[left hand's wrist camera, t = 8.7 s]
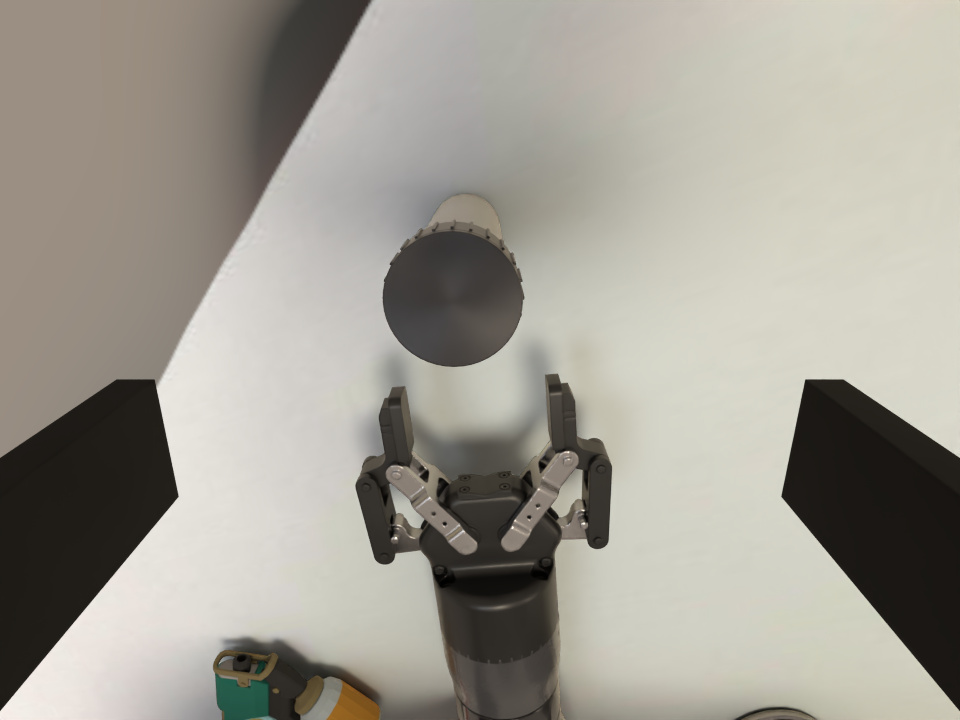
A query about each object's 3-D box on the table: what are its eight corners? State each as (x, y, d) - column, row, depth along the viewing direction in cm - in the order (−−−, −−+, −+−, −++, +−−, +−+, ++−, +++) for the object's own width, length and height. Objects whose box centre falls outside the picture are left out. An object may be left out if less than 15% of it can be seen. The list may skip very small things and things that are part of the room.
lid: (365, 297, 23) (352, 314, 21) (441, 191, 21) (436, 197, 19) (468, 370, 24) (467, 394, 22) (547, 273, 22) (554, 288, 20)
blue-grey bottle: (418, 235, 36) (371, 309, 21) (459, 179, 35) (440, 214, 20) (472, 275, 37) (465, 375, 22) (513, 222, 36) (536, 287, 21)
